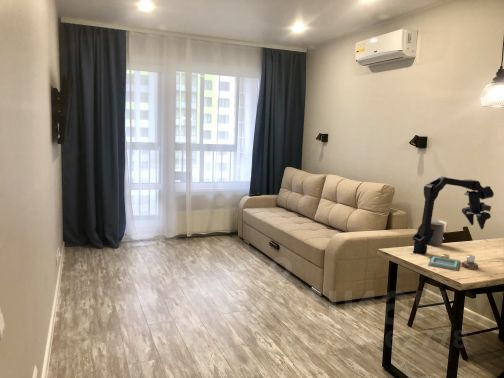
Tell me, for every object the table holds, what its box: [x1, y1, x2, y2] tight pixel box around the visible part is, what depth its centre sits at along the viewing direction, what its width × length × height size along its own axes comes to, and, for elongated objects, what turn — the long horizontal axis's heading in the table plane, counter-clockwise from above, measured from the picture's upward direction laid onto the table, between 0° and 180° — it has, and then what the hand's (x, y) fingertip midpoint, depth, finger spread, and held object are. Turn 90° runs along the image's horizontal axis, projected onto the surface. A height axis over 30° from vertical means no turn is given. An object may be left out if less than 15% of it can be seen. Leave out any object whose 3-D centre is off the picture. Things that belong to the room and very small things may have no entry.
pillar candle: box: [427, 220, 445, 247], centre depth 254 cm, size 10×10×15 cm
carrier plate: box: [427, 253, 461, 272], centre depth 217 cm, size 14×18×3 cm
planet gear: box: [461, 254, 479, 271], centre depth 212 cm, size 7×7×6 cm
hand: (477, 227), depth 238 cm, fingers open, 9 cm apart
